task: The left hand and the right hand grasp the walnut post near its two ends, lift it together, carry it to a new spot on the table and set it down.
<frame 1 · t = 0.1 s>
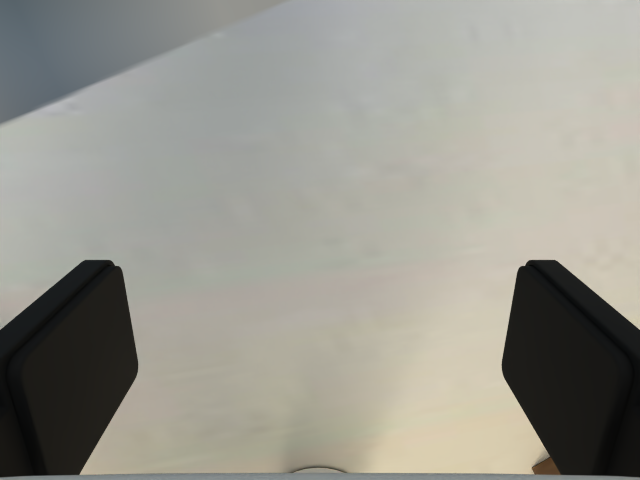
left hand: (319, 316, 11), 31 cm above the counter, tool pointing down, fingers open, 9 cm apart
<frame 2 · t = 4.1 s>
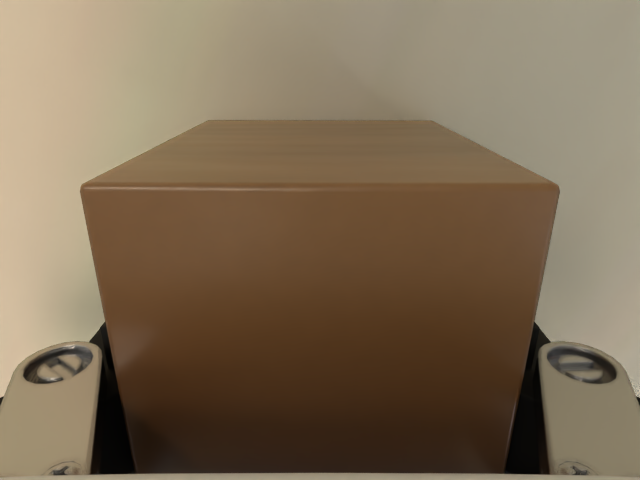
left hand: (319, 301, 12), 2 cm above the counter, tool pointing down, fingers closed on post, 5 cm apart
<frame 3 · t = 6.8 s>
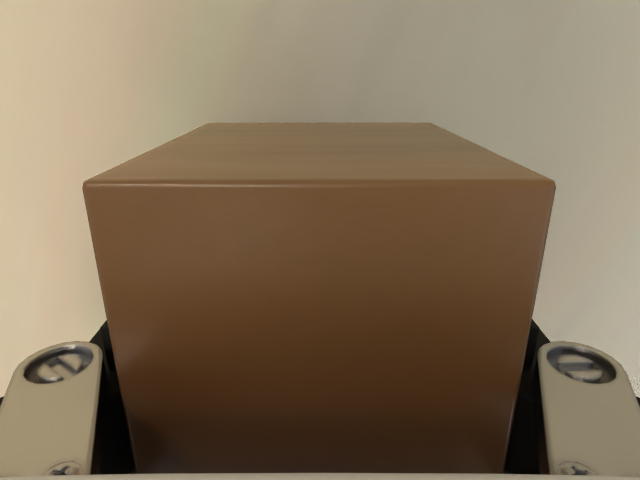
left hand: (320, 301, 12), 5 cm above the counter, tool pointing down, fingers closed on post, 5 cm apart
when the right hand's fingers open (1 cm above the counter, at t = 12.4 s): post stays where it is, on the counter.
when the left hand's fingers open (2 cm above the counter, at t = 12.6 s): post stays where it is, on the counter.
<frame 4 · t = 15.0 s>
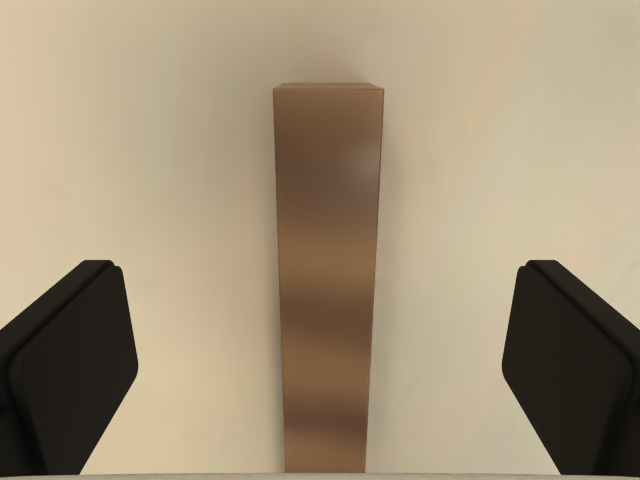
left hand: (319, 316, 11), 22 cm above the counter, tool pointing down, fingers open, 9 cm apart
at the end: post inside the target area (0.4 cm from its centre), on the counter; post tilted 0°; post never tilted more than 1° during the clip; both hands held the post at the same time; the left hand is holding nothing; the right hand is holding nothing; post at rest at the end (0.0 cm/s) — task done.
